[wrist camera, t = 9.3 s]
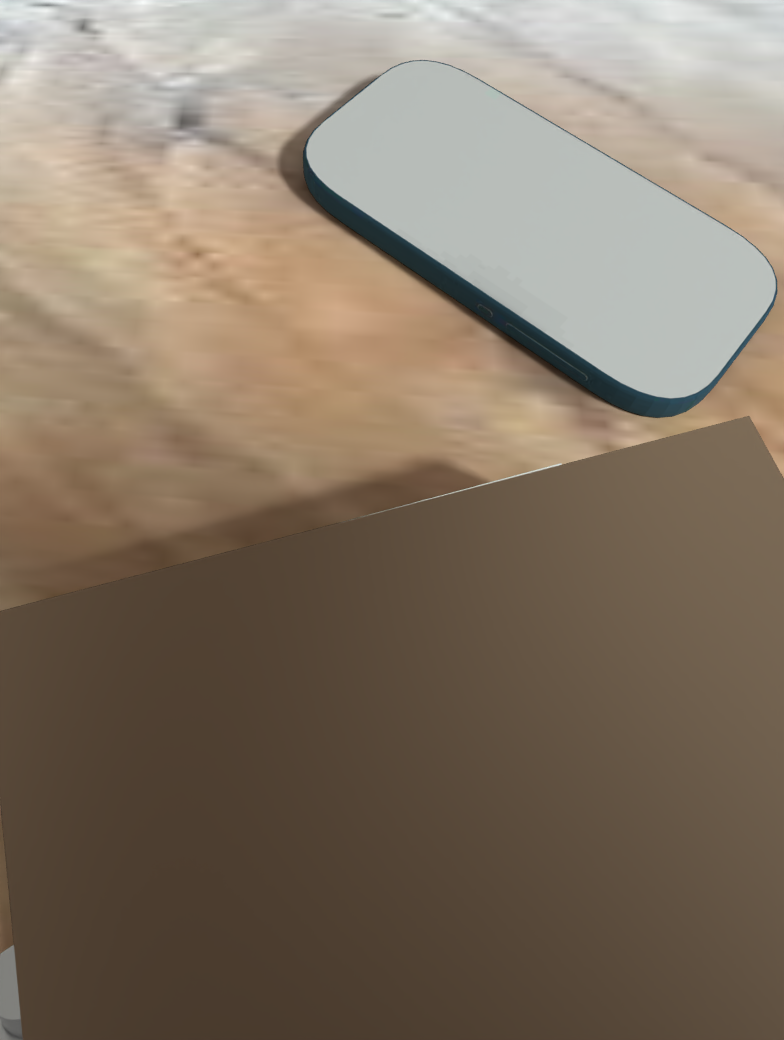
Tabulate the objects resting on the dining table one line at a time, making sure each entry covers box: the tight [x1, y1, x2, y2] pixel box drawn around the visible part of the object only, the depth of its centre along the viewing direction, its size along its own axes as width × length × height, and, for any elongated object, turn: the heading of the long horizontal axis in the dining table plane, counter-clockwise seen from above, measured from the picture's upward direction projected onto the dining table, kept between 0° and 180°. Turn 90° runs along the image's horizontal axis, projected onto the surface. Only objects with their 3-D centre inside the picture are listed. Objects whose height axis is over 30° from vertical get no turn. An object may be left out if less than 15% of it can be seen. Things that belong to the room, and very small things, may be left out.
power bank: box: [303, 60, 777, 418], centre depth 36 cm, size 24×12×2 cm, turn 51°
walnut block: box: [0, 416, 784, 1040], centre depth 9 cm, size 4×4×12 cm
